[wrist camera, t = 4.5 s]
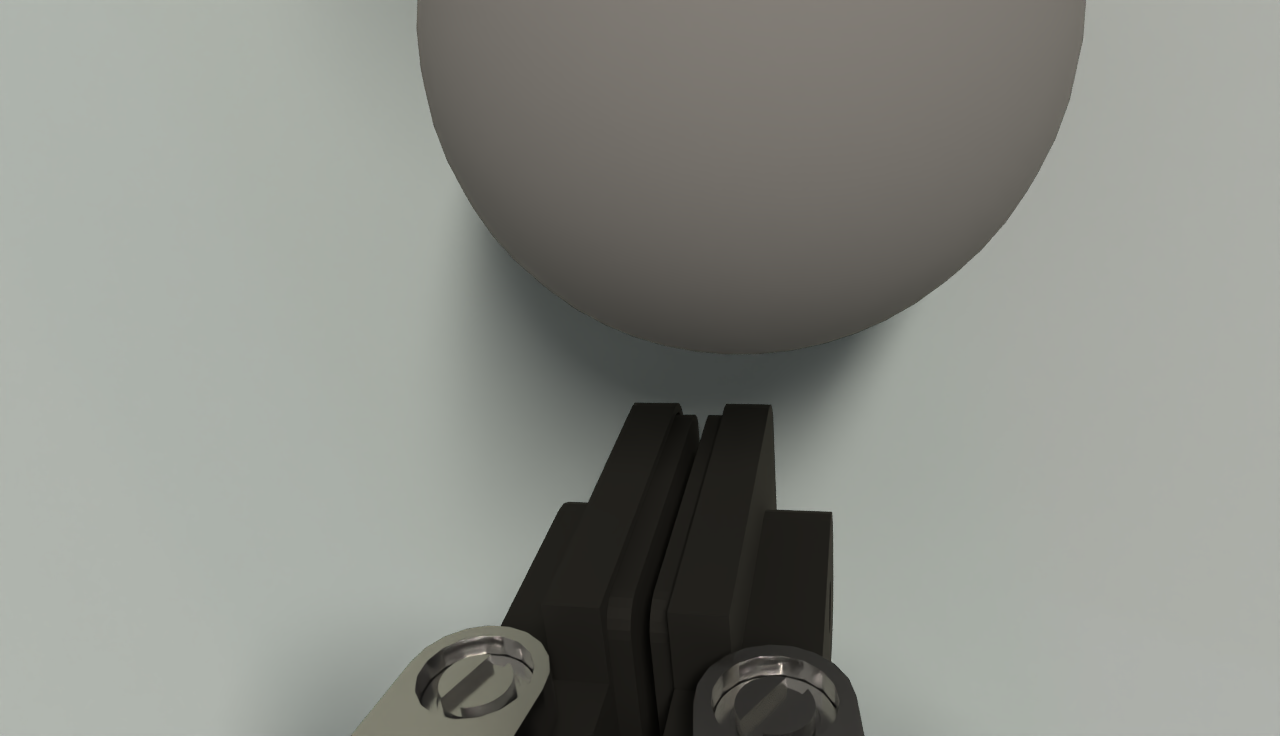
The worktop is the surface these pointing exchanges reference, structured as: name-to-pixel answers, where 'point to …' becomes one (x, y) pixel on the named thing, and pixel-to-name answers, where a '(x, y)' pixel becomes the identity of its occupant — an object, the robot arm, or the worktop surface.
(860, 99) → the cue ball
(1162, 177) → the worktop surface
